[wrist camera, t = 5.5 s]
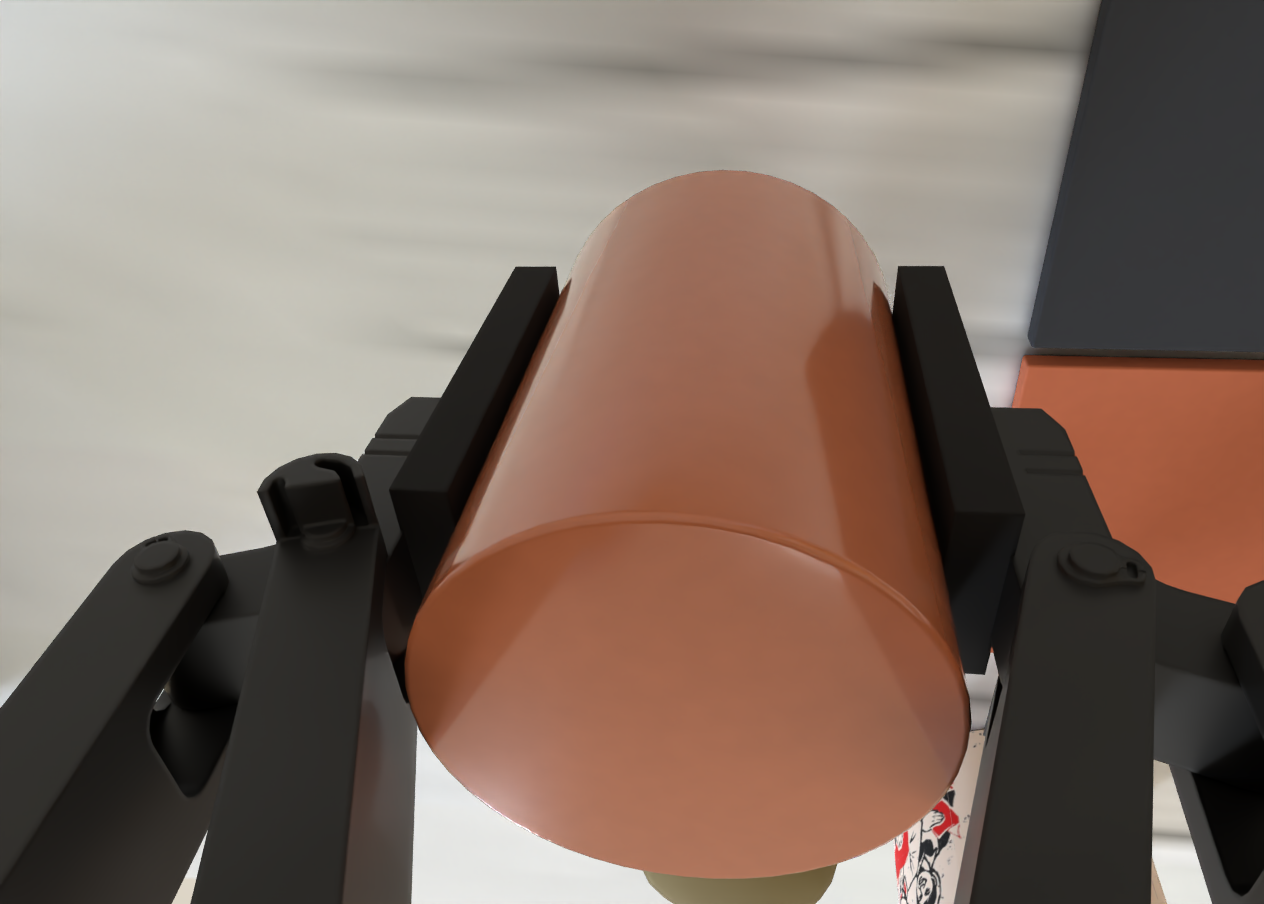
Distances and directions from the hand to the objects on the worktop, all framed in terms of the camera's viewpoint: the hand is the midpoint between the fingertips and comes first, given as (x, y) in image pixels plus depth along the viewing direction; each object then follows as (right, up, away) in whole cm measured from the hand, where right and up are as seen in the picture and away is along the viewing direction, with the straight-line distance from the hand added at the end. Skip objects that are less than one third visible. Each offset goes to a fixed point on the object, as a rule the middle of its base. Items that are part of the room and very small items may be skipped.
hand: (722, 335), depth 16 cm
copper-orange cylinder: (0, 0, 0) cm, 0 cm away
